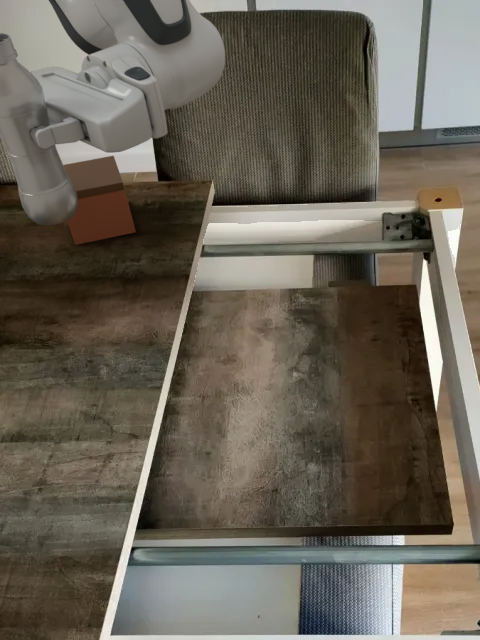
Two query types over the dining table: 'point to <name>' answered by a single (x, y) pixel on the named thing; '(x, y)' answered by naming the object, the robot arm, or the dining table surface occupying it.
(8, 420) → the dining table surface
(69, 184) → the plastic bottle
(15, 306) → the dining table surface
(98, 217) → the step stand
